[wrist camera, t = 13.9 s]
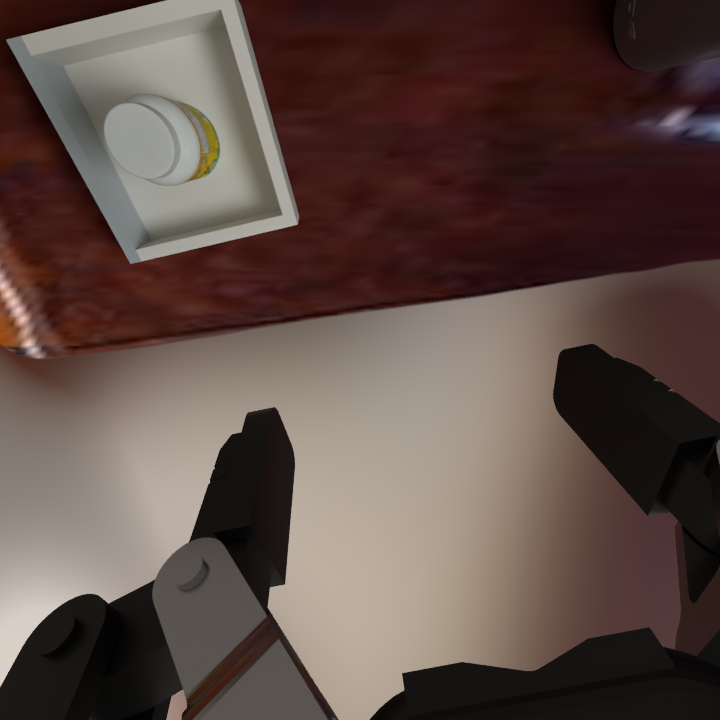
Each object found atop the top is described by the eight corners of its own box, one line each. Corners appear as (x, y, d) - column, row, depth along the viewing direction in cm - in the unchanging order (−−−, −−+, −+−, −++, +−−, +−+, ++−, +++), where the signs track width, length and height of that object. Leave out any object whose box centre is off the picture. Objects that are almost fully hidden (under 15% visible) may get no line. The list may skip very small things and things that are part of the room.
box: (240, 5, 26) (229, -16, 23) (299, 216, 34) (297, 224, 31) (45, 53, 26) (5, 39, 23) (148, 252, 34) (130, 263, 31)
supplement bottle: (206, 96, 28) (161, 77, 20) (231, 171, 31) (201, 180, 23) (140, 112, 28) (69, 98, 20) (172, 184, 31) (121, 199, 23)
